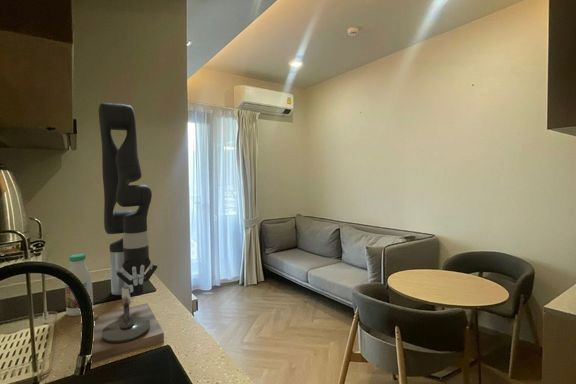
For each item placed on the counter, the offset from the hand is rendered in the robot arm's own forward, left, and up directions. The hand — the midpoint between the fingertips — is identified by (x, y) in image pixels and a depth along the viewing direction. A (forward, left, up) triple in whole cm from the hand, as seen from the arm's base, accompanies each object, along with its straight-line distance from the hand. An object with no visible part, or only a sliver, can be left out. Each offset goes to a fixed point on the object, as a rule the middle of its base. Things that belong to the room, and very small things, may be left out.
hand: (138, 294), depth 101 cm
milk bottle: (-15, -16, -7) cm, 23 cm away
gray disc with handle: (+11, -5, -4) cm, 13 cm away
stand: (+10, -6, -7) cm, 14 cm away
